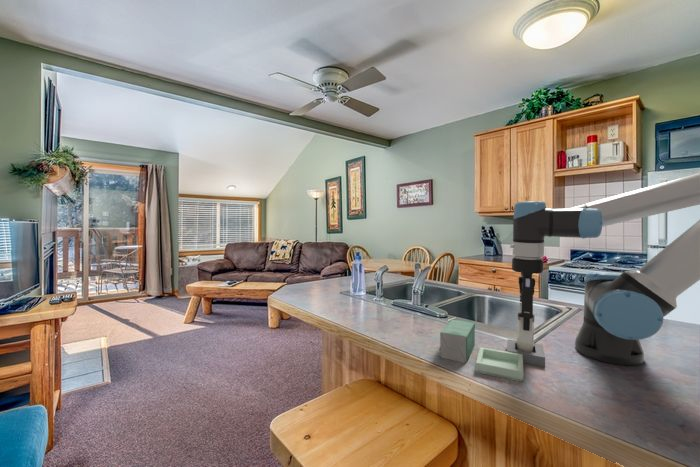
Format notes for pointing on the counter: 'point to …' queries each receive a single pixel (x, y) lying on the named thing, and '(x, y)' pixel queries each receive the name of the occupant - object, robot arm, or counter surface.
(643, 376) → the counter surface
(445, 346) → the box
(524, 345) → the block
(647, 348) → the counter surface
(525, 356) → the holder
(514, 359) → the tray
